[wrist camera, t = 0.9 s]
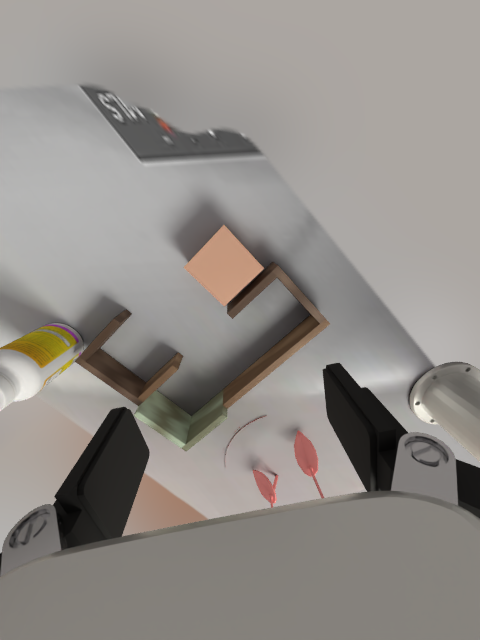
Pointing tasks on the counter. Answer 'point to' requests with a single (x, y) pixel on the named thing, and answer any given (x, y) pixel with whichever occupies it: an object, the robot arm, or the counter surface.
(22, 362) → the supplement bottle
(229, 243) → the terracotta block
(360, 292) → the counter surface
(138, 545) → the robot arm
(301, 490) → the counter surface
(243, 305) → the box
